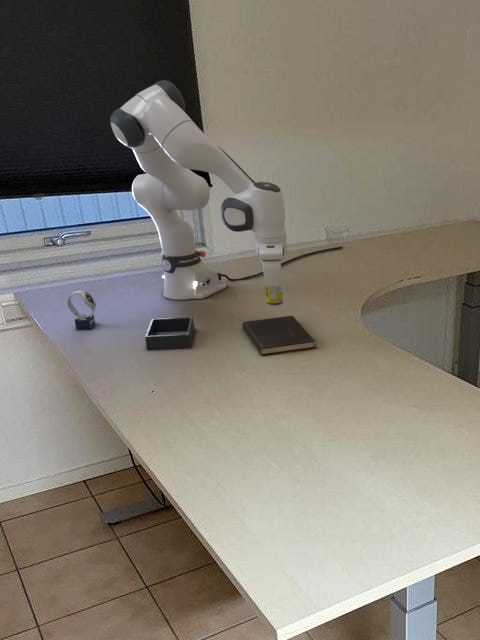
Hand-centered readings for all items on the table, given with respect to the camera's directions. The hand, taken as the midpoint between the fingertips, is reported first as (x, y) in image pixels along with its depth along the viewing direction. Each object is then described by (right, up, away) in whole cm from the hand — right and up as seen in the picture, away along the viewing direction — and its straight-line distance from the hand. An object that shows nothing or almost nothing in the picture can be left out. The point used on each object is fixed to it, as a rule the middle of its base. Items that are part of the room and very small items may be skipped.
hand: (273, 294), depth 214 cm
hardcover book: (0, -11, +7) cm, 13 cm away
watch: (-60, -6, +17) cm, 62 cm away
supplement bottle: (0, -3, +2) cm, 3 cm away
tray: (-31, -12, +7) cm, 34 cm away
